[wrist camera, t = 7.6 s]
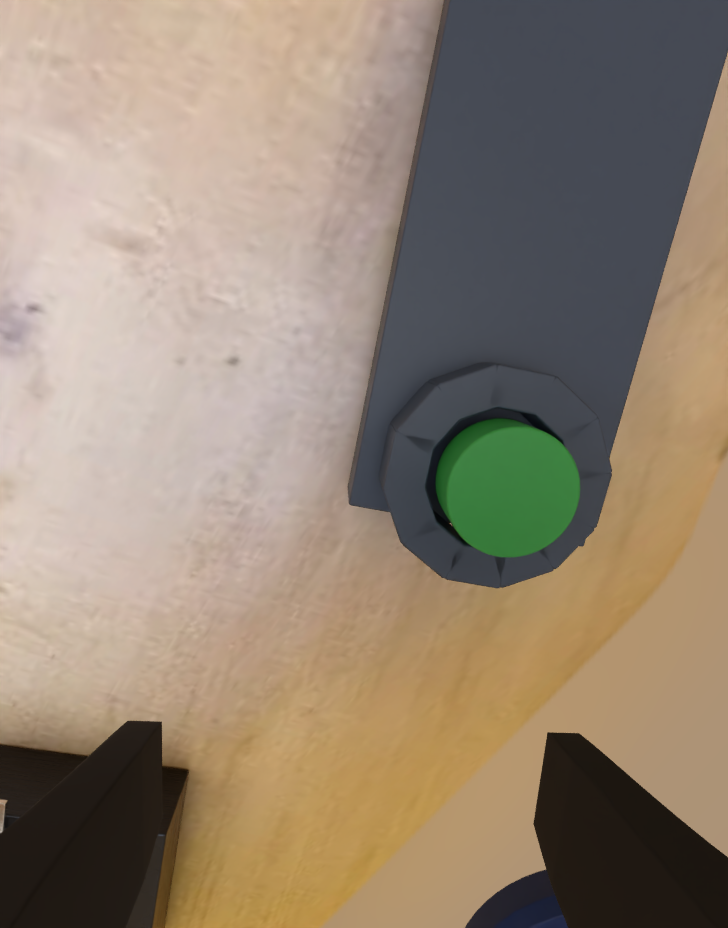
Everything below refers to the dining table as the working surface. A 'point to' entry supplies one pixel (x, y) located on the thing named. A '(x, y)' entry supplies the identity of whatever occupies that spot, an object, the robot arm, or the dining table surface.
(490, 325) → the button block
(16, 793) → the control panel
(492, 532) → the button
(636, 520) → the dining table surface
